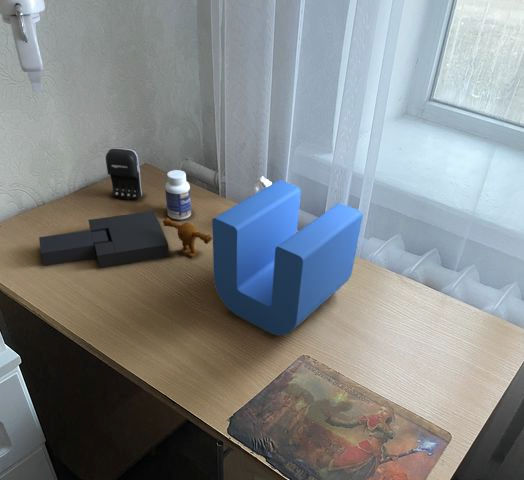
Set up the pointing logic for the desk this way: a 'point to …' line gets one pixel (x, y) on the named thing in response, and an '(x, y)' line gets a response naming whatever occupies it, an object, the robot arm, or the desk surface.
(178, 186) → the pill bottle
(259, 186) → the white creature statuette
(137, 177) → the battery charger
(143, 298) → the desk surface
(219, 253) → the block
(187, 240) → the toy figurine
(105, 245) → the black pad
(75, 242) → the charcoal pad
